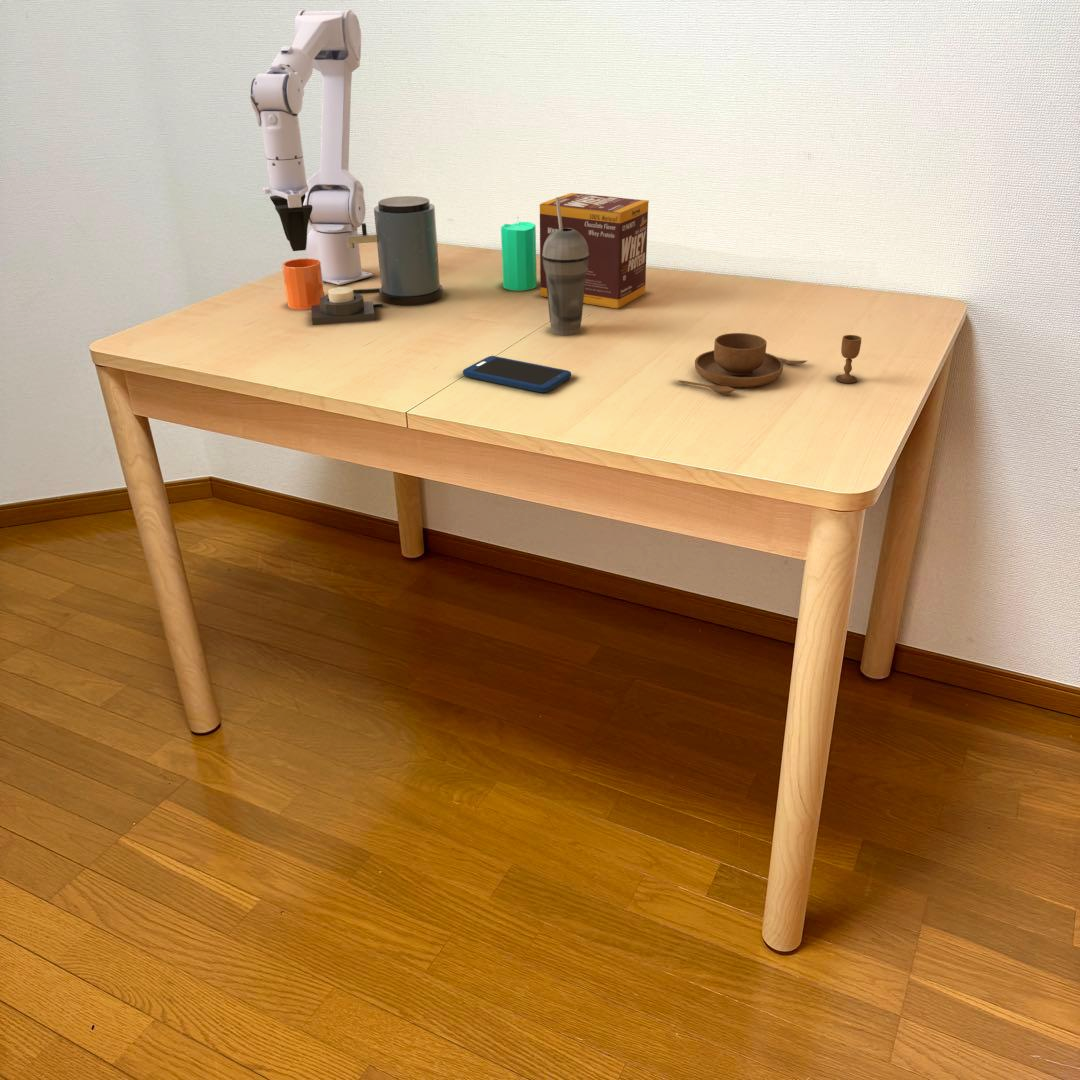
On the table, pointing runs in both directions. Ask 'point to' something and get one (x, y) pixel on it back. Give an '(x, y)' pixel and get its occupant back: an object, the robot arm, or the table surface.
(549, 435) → the table surface
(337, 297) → the button
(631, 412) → the table surface
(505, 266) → the candle
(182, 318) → the table surface
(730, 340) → the place setting
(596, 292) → the supplement box
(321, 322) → the button block
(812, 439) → the table surface
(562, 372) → the cell phone
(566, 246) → the beverage cup
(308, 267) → the cup
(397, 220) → the dispenser
